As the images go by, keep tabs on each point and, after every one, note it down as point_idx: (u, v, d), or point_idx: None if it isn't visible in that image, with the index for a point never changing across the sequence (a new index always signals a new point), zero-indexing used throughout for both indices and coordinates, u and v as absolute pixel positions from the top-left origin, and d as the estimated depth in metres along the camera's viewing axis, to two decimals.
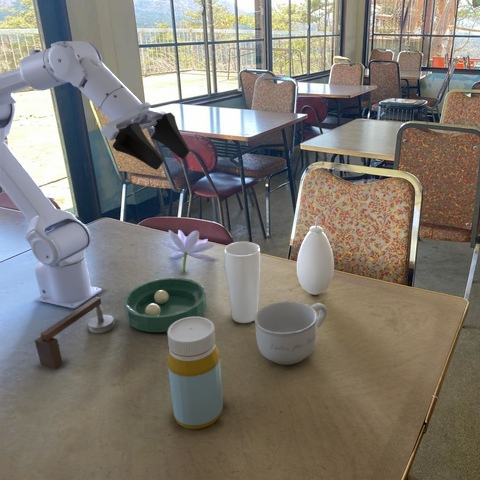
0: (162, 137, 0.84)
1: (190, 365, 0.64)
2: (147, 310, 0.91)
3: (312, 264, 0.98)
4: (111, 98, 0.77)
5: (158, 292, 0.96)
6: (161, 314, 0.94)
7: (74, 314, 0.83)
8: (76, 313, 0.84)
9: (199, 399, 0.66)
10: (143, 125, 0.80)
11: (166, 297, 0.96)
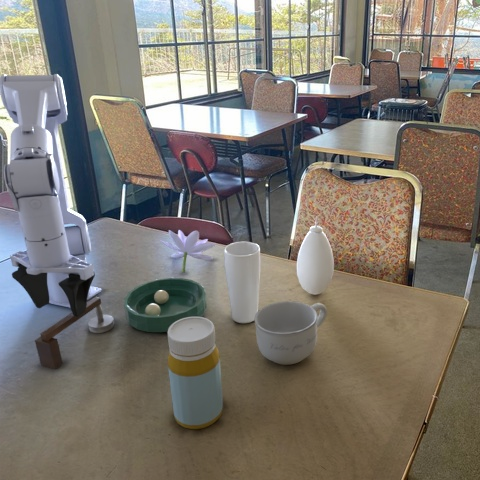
0: None
1: (190, 365, 0.64)
2: (147, 310, 0.91)
3: (312, 264, 0.98)
4: None
5: (158, 292, 0.96)
6: (161, 314, 0.94)
7: None
8: None
9: (199, 399, 0.66)
10: None
11: (166, 297, 0.96)
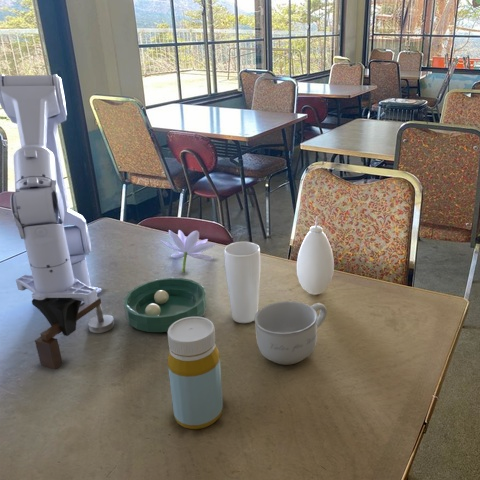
0: None
1: (190, 365, 0.64)
2: (147, 310, 0.91)
3: (312, 264, 0.98)
4: None
5: (158, 292, 0.96)
6: (161, 314, 0.94)
7: None
8: None
9: (199, 399, 0.66)
10: None
11: (166, 297, 0.96)
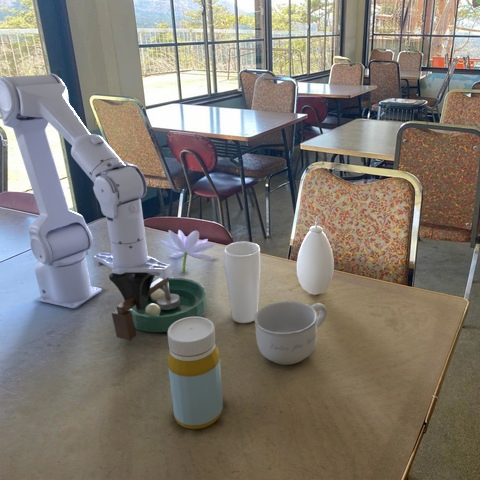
0: None
1: (190, 365, 0.64)
2: (147, 310, 0.91)
3: (312, 264, 0.98)
4: None
5: None
6: (161, 314, 0.94)
7: None
8: None
9: (199, 399, 0.66)
10: None
11: (160, 292, 0.97)
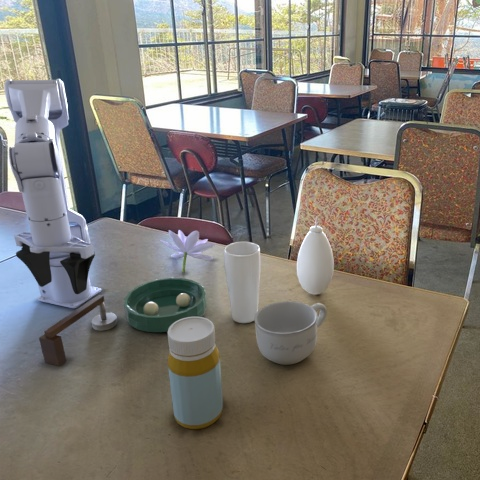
0: None
1: (190, 365, 0.64)
2: None
3: (312, 264, 0.98)
4: None
5: None
6: (161, 314, 0.94)
7: (78, 312, 0.84)
8: (80, 311, 0.84)
9: (199, 399, 0.66)
10: None
11: None
